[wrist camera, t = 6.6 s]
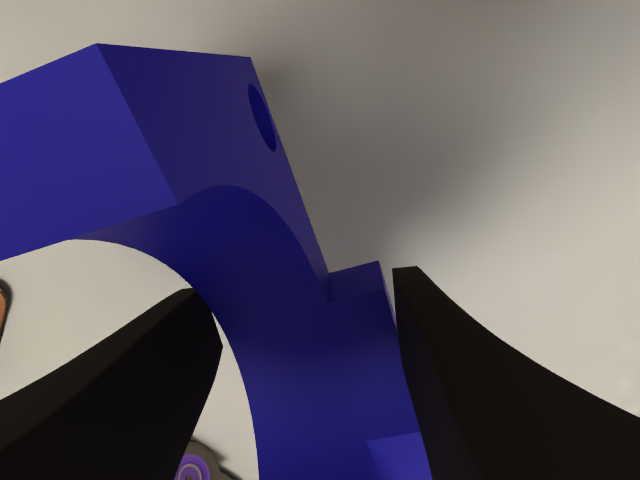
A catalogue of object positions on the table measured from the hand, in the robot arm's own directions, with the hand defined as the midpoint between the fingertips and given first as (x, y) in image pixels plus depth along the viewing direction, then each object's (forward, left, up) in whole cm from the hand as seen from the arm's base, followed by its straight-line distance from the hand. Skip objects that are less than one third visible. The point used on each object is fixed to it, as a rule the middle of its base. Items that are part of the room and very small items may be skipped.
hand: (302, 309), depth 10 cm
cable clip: (0, 0, -2) cm, 2 cm away
